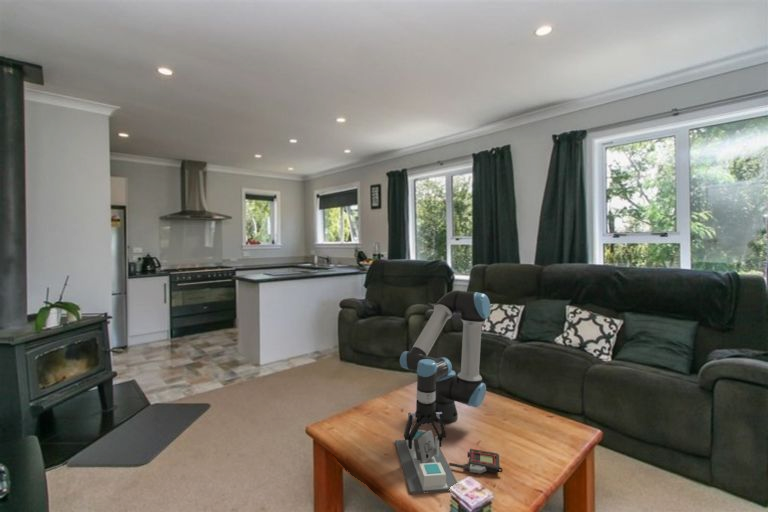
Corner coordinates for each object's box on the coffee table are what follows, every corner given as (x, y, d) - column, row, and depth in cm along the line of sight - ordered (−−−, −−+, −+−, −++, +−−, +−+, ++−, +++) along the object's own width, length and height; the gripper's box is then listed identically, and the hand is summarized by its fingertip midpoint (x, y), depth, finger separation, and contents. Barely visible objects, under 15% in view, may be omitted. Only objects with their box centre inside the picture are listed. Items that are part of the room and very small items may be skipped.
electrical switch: (424, 465, 135) (423, 440, 135) (412, 461, 138) (411, 437, 138) (436, 454, 142) (435, 431, 142) (425, 450, 145) (424, 427, 146)
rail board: (434, 440, 157) (435, 427, 157) (459, 490, 126) (460, 474, 125) (395, 442, 155) (395, 429, 155) (410, 494, 123) (410, 478, 123)
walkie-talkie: (503, 474, 131) (448, 464, 137) (502, 482, 133) (448, 471, 138) (502, 453, 139) (450, 444, 144) (501, 460, 141) (450, 451, 146)
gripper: (400, 405, 134) (398, 462, 135) (456, 403, 137) (454, 459, 138) (396, 396, 141) (395, 451, 142) (450, 394, 145) (448, 448, 145)
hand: (424, 455), depth 140 cm, fingers closed on electrical switch, 9 cm apart
